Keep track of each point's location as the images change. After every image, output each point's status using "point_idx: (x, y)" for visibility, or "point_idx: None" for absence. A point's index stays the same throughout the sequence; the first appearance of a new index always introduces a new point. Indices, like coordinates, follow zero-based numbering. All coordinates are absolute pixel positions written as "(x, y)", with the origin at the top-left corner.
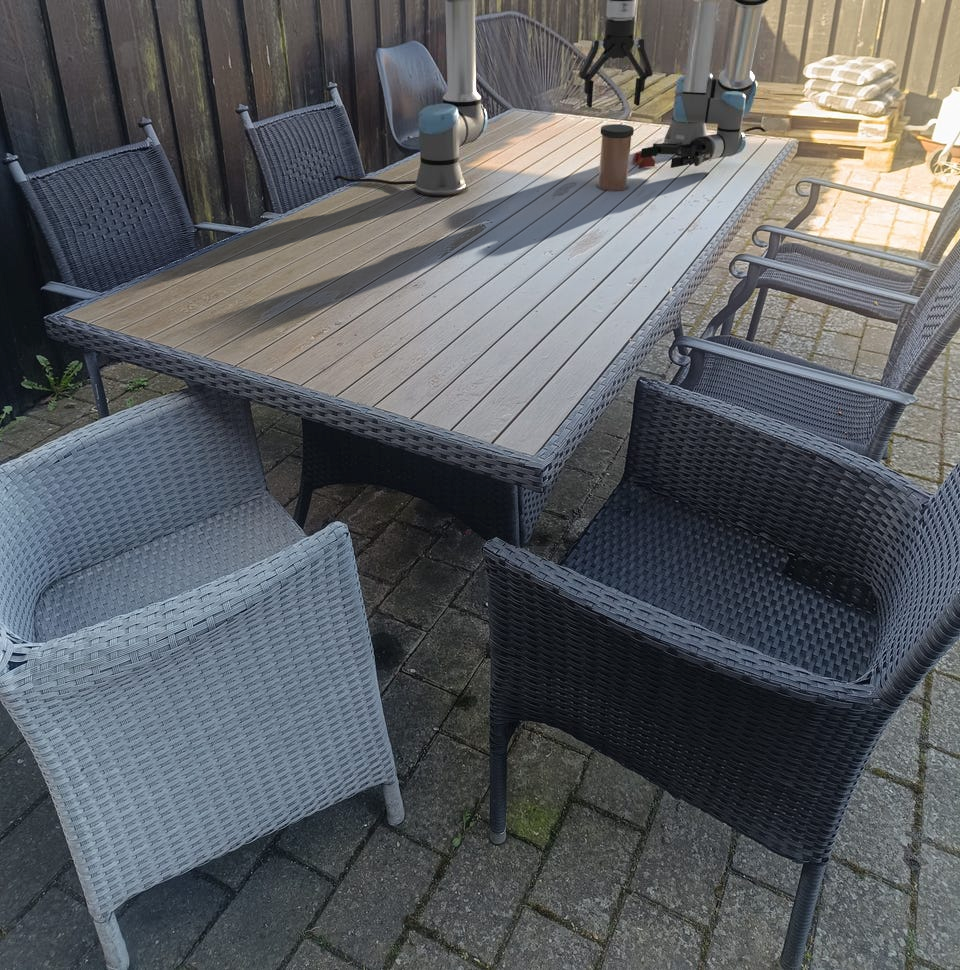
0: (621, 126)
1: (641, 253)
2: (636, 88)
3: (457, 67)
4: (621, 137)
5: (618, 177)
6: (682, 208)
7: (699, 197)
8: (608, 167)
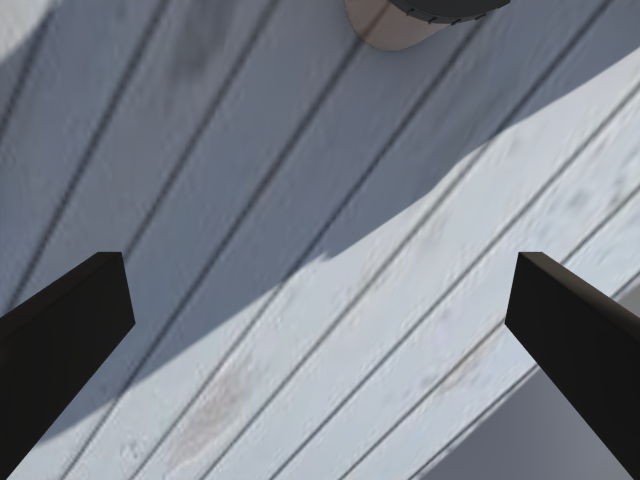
0: None
1: (301, 470)
2: (597, 360)
3: None
4: (444, 23)
5: (404, 45)
6: (508, 251)
7: (610, 167)
8: (371, 24)
